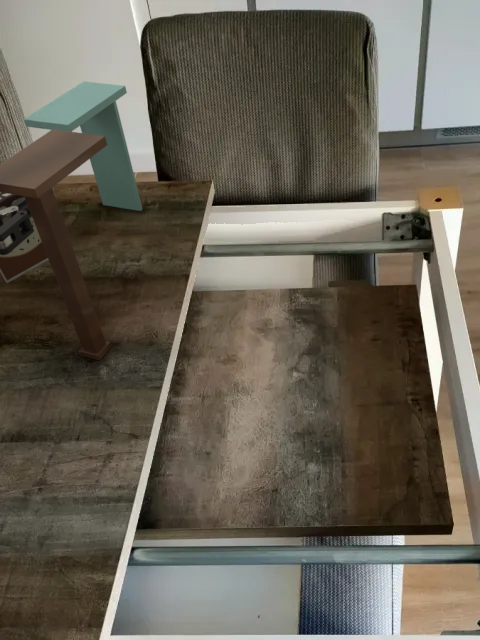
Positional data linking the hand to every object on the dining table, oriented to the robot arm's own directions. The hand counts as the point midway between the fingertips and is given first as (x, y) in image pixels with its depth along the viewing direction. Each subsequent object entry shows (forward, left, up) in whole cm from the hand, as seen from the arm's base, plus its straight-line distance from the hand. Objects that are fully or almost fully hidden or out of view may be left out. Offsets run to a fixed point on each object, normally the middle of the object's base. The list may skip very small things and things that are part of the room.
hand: (11, 195), depth 83 cm
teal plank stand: (0, +17, -12) cm, 21 cm away
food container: (0, -2, -8) cm, 8 cm away
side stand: (+14, -7, -13) cm, 20 cm away
